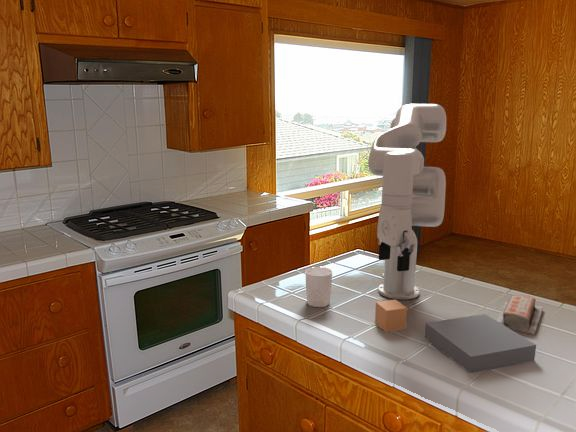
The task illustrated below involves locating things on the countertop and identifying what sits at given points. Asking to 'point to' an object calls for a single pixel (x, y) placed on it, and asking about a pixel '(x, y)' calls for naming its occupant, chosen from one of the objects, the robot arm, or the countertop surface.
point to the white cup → (318, 286)
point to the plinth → (479, 342)
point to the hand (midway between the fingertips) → (393, 264)
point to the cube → (390, 315)
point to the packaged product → (521, 314)
